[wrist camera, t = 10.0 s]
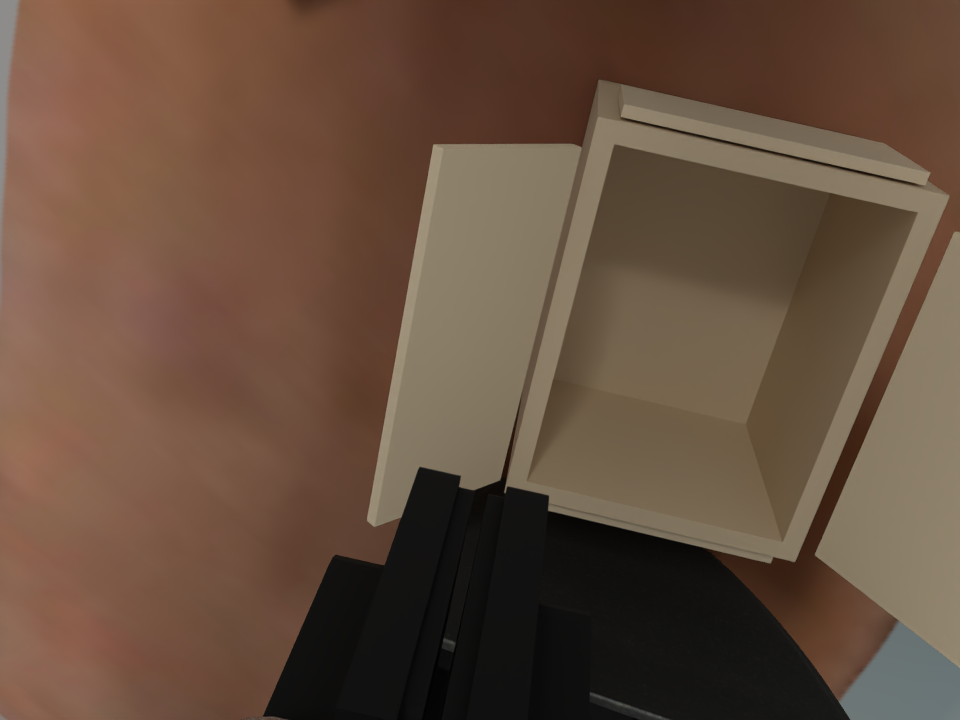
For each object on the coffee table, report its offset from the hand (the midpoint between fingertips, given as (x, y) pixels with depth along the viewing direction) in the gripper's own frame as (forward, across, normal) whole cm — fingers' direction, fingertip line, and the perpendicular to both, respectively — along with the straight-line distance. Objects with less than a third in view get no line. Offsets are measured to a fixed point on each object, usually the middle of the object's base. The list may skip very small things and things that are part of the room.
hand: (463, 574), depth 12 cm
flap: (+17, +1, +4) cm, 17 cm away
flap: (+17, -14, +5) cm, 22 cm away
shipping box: (+30, -6, +5) cm, 31 cm away
